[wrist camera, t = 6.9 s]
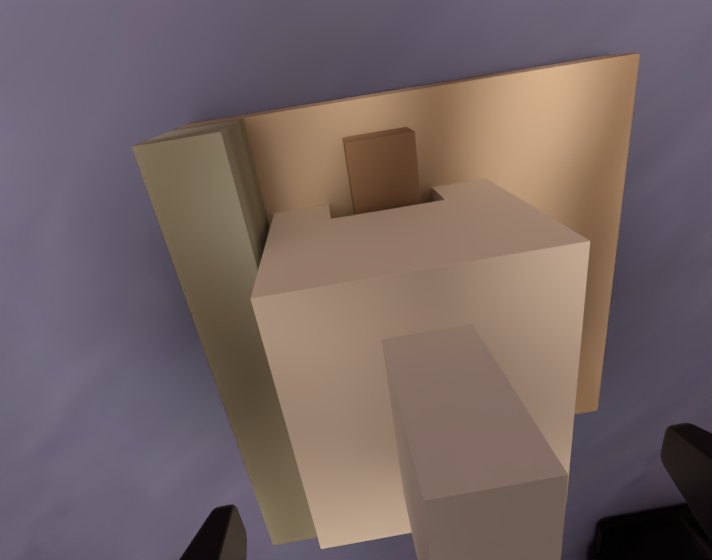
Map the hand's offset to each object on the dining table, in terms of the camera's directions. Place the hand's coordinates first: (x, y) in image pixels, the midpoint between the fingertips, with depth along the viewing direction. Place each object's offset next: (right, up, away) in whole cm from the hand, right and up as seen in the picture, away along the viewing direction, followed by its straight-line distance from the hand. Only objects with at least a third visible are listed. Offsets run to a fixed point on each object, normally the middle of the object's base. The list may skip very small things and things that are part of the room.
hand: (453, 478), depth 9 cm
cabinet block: (-1, +3, +7) cm, 8 cm away
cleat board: (0, +4, +8) cm, 9 cm away
